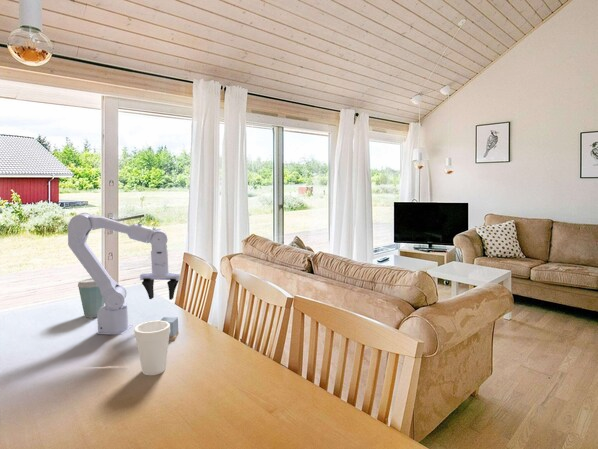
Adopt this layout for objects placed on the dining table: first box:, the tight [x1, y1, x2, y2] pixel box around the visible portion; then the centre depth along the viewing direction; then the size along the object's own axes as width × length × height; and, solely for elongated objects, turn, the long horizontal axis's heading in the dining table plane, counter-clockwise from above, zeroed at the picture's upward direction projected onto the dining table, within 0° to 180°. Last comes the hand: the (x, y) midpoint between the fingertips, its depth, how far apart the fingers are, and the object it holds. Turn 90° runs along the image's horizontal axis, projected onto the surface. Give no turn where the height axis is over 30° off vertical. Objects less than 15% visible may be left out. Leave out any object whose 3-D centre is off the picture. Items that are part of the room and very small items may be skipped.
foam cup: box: [133, 320, 170, 376], centre depth 110 cm, size 10×9×13 cm
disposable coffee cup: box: [77, 277, 105, 319], centre depth 155 cm, size 11×11×15 cm
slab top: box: [169, 331, 179, 342], centre depth 133 cm, size 6×6×1 cm
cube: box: [159, 316, 179, 337], centre depth 133 cm, size 5×5×5 cm
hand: (161, 298), depth 144 cm, fingers open, 7 cm apart
